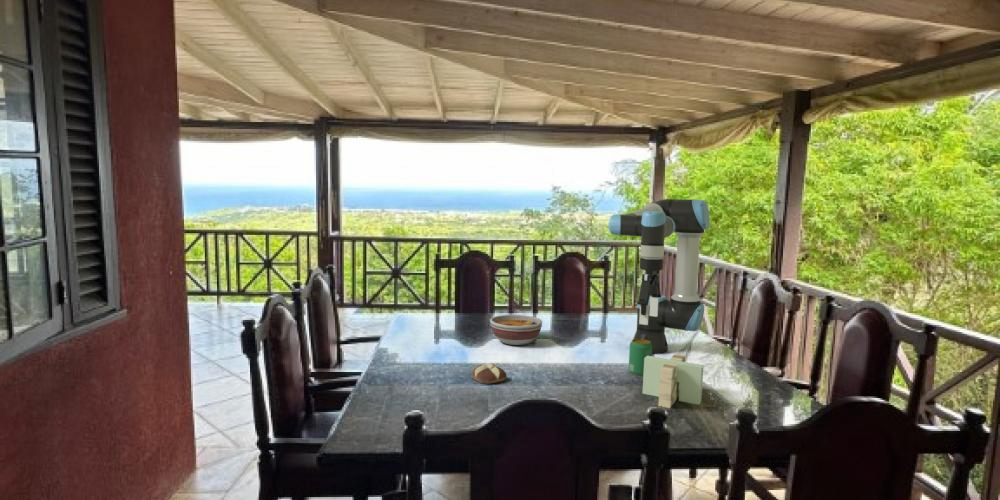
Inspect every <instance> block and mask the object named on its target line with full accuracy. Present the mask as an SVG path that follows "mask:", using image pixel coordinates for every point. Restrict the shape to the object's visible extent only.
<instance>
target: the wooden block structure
mask: <svg viewBox="0 0 1000 500" xmlns="http://www.w3.org/2000/svg"><path fill="white" fill-rule="evenodd" d="M670 359H671V360H676V361H682V362H687V355H686V354H681V353H674V354H673V355H672V357H670ZM676 381H677V364H671V363H666V364H665V365H664V366H663V367H662V368H661V371H660V388H659V397H658V407H661V406H662V407H663V408H667V409H671V407H672V406H673V405H674V403H675V402H676V401H677V399H679V390H680V383H679V382H676Z"/></svg>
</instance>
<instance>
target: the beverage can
mask: <svg viewBox="0 0 1000 500" xmlns="http://www.w3.org/2000/svg"><path fill="white" fill-rule="evenodd" d="M628 355H629V356H628V371H629V373H630V374H631V375H634V376H637V377H638V376H639V377H643V374H644V358H645V357H646V356H653V354H652V344H651V342H650V341H648V340H644V339H633V338H632V340H631V342H630V343H629V353H628Z"/></svg>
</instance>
